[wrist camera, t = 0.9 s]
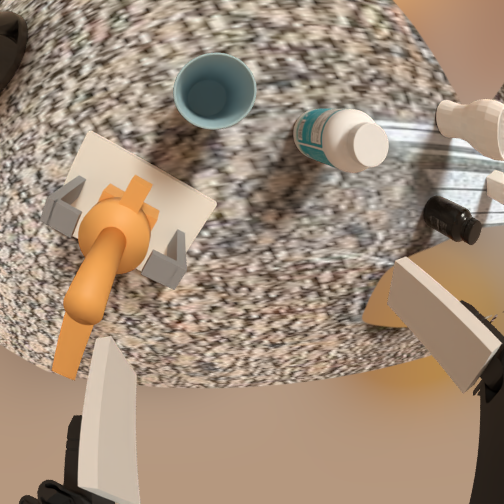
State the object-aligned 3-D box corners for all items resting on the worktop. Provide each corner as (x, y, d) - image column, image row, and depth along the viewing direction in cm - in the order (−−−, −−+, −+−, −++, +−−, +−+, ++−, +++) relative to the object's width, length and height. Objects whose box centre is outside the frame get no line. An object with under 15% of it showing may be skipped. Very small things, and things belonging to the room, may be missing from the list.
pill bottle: (343, 148, 38) (403, 167, 27) (301, 166, 38) (352, 191, 27) (328, 102, 34) (389, 103, 23) (283, 117, 34) (332, 121, 23)
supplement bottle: (438, 225, 50) (477, 250, 40) (419, 224, 49) (460, 251, 39) (445, 195, 47) (487, 217, 37) (427, 192, 46) (472, 215, 35)
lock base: (53, 219, 33) (19, 256, 23) (91, 130, 29) (55, 138, 19) (167, 278, 41) (165, 328, 32) (215, 201, 38) (228, 234, 28)
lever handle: (71, 266, 32) (26, 357, 17) (119, 156, 28) (60, 199, 13) (121, 291, 35) (101, 391, 21) (177, 189, 31) (172, 259, 17)
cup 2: (463, 104, 38) (520, 116, 25) (456, 149, 43) (513, 170, 30) (434, 84, 35) (498, 92, 23) (427, 135, 40) (491, 154, 27)
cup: (245, 113, 33) (267, 112, 24) (190, 136, 33) (192, 142, 24) (224, 63, 29) (240, 43, 20) (168, 85, 29) (161, 72, 20)
